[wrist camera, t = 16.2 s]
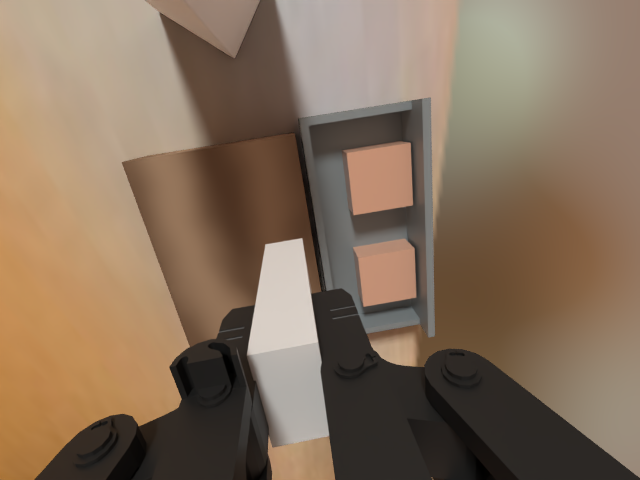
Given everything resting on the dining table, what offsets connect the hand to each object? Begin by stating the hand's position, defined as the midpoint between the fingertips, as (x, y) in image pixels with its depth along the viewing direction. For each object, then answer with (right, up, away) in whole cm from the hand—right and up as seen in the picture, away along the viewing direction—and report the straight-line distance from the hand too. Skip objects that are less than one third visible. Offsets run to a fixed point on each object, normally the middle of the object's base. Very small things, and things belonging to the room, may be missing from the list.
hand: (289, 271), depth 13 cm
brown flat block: (-6, +1, +16) cm, 17 cm away
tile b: (+6, +6, +12) cm, 15 cm away
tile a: (+7, -2, +15) cm, 17 cm away
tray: (+5, +3, +16) cm, 18 cm away
